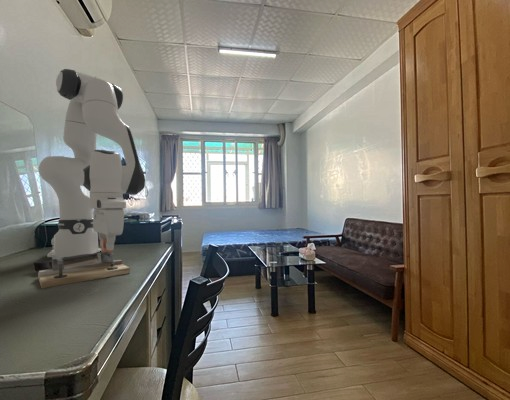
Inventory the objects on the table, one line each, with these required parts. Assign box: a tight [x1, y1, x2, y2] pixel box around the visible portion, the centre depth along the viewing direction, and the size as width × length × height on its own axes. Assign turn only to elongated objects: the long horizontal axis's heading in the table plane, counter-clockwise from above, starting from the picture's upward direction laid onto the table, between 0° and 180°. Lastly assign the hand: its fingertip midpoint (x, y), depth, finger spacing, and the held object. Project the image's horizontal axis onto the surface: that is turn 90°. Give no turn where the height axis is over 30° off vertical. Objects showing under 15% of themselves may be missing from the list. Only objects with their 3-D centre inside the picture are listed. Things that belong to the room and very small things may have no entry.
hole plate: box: [37, 256, 131, 289], centre depth 75 cm, size 12×20×6 cm, turn 132°
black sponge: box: [32, 253, 99, 273], centre depth 86 cm, size 16×8×4 cm, turn 156°
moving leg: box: [100, 238, 115, 267], centre depth 79 cm, size 8×2×8 cm, turn 42°
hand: (106, 248), depth 81 cm, fingers open, 6 cm apart
